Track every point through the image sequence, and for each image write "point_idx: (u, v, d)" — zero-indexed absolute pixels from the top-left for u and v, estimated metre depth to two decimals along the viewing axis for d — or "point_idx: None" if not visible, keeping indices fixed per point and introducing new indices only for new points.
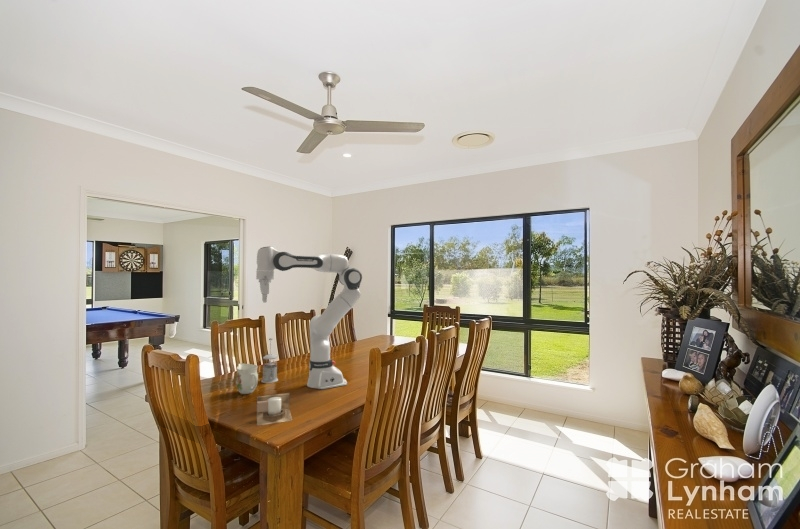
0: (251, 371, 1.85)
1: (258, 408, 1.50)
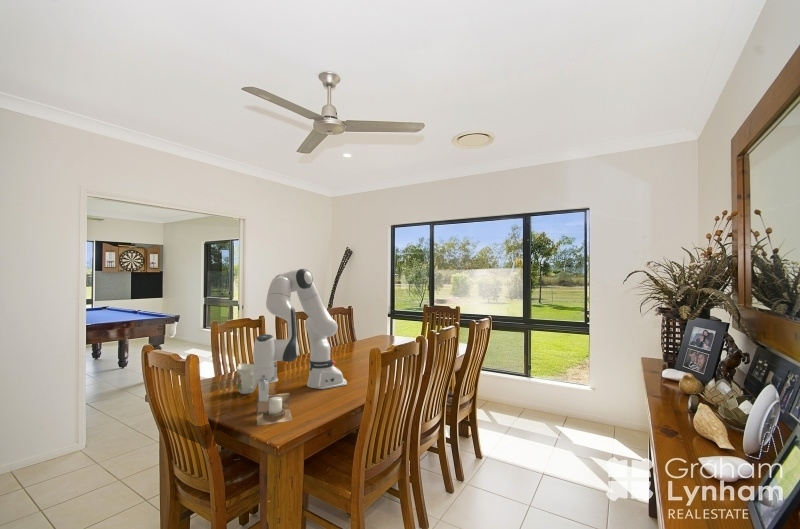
0: (251, 371, 1.85)
1: (259, 408, 1.50)
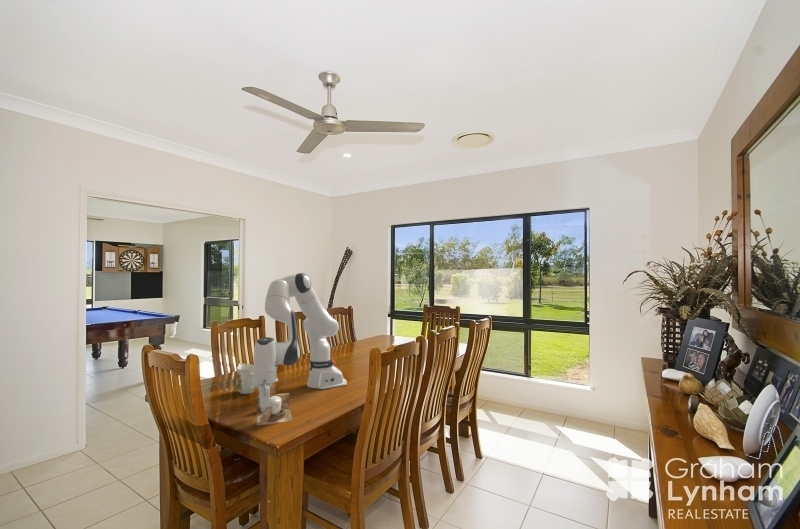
0: (251, 371, 1.85)
1: (267, 418, 1.46)
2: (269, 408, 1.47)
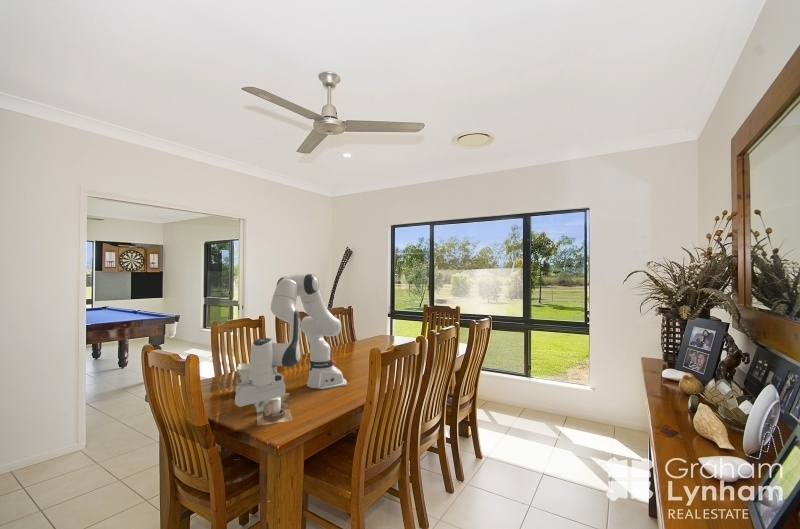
0: None
1: (269, 411, 1.48)
2: (270, 403, 1.50)
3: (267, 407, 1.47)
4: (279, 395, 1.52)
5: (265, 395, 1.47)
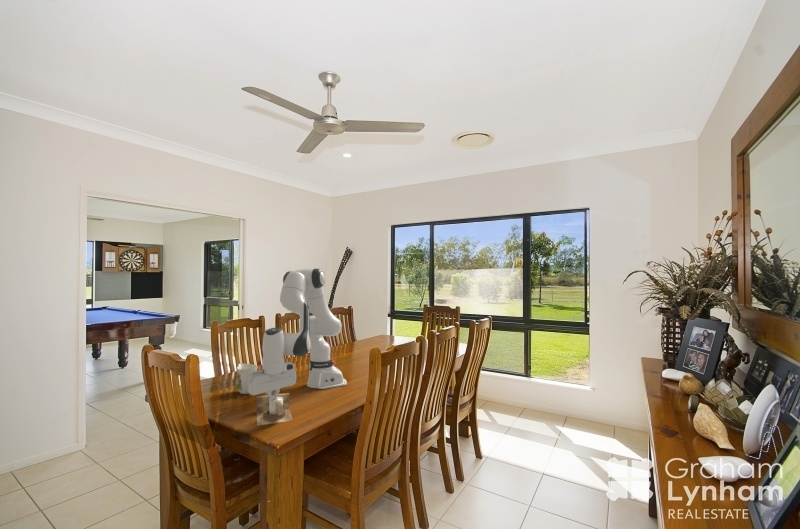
0: (251, 371, 1.85)
1: None
2: (278, 402, 1.51)
3: (281, 406, 1.48)
4: (290, 384, 1.54)
5: (278, 383, 1.49)
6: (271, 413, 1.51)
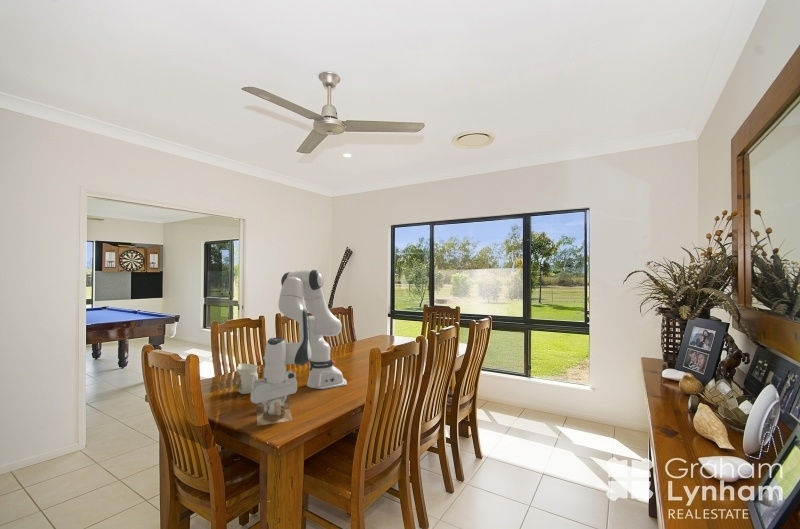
0: (251, 371, 1.85)
1: None
2: (277, 403, 1.50)
3: (280, 406, 1.48)
4: (291, 392, 1.58)
5: (279, 392, 1.53)
6: (270, 413, 1.51)
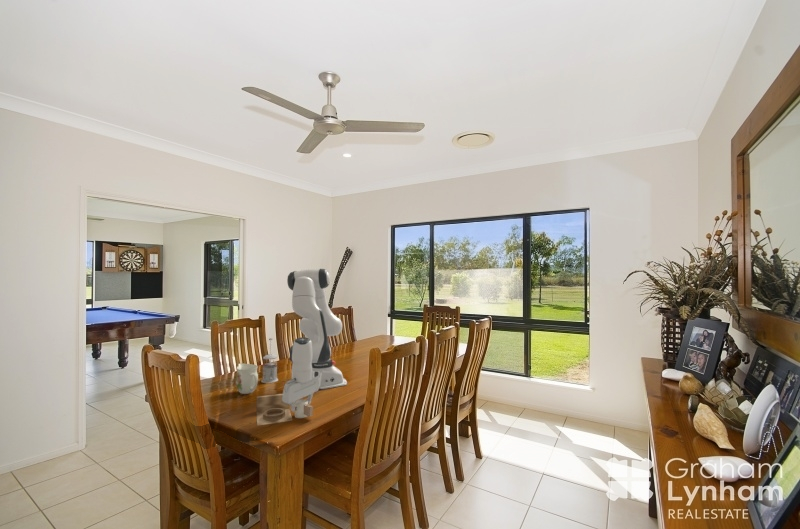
0: (251, 371, 1.85)
1: None
2: (306, 405, 1.53)
3: (312, 408, 1.51)
4: (315, 390, 1.61)
5: (306, 391, 1.56)
6: (299, 416, 1.52)
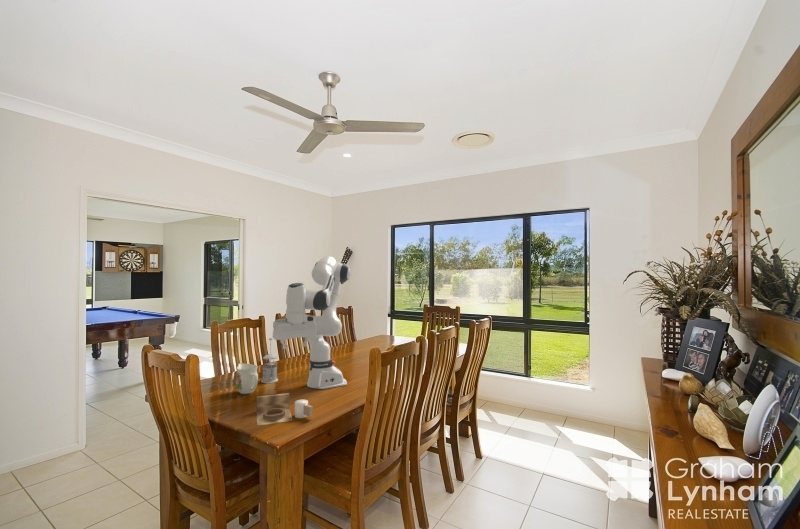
0: (251, 371, 1.85)
1: None
2: (306, 405, 1.53)
3: (312, 408, 1.51)
4: (311, 335, 1.68)
5: (299, 332, 1.64)
6: (299, 416, 1.52)
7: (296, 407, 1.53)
